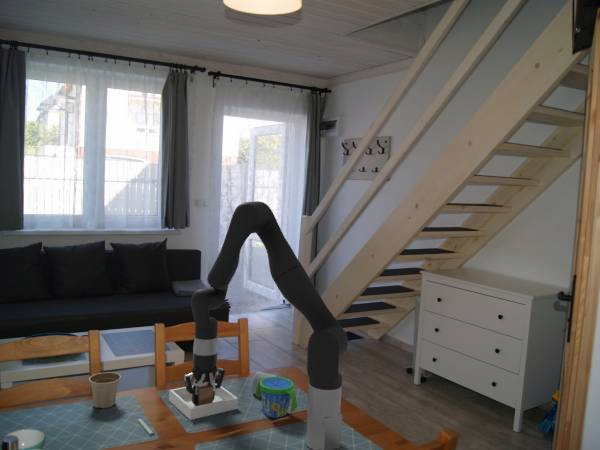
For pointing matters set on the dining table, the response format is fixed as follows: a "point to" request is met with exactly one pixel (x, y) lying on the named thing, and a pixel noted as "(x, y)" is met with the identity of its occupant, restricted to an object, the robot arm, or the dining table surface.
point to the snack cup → (276, 396)
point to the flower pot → (104, 388)
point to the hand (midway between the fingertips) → (203, 402)
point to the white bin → (220, 404)
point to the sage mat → (145, 427)
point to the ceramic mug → (259, 379)
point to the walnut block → (205, 394)
